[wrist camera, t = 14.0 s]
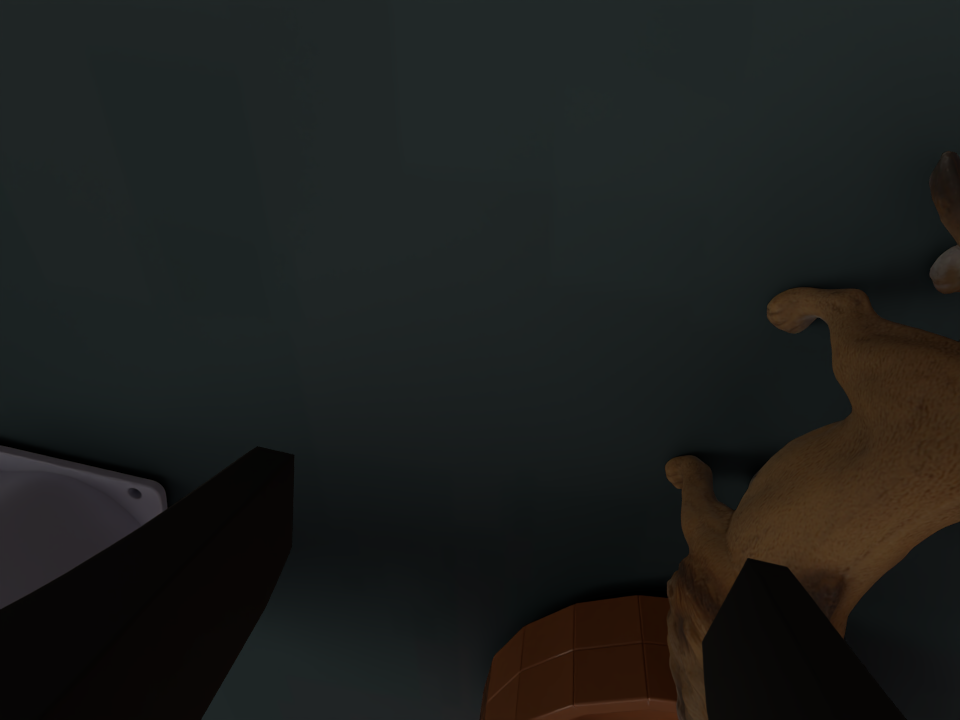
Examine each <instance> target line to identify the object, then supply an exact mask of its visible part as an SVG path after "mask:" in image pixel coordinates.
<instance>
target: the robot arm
mask: <svg viewBox="0 0 960 720" xmlns="http://www.w3.org/2000/svg"><path fill="white" fill-rule="evenodd" d="M293 489H294V455H293V454H288V453H284V452H280V451H275V450H271V449H266V448H262V447H258V446H257V447H256V448H254V449H252V450H251V451H249V452H248V453H246V454H245V455H243V456H242V457H240V458H239V459H238V460H236V461H235V462H233V463H232V464H231V465H229V466H228V467H226V468H225V469H224V470H222V471H221V472H219V473H218V474H217V475H215V476H214V477H212V478H211V479H209V480H208V481H207V482H205V483H204V484H202V485H201V486H200V487H198V488H197V489H195V490H194V491H192V492H191V493H190V494H188V495H187V496H185V497H184V498H182V499H181V500H179V501H178V502H176V503H175V504H174V505H172V506H171V507H169V508H167V499H166V492H165V489H164V488H163V486H162V485H161V484H159V483H158V482H156V481H153V480H149V479H145V478H141V477H136V476H132V475H128V474H123V473H119V472H115V471H110V470H106V469H102V468H97V467H93V466H89V465H84V464H80V463H76V462H71V461H67V460H63V459H58V458H54V457H50V456H45V455H41V454H37V453H32V452H28V451H24V450H19V449H15V448H11V447H6V446H2V445H0V720H201V719H202V717H203V715H204V714H205V712H206V710H207V708H208V707H209V705H210V703H211V701H212V700H213V698H214V696H215V695H216V693H217V691H218V689H219V688H220V686H221V684H222V682H223V681H224V679H225V677H226V676H227V674H228V672H229V670H230V669H231V667H232V665H233V663H234V662H235V660H236V658H237V657H238V655H239V653H240V651H241V650H242V648H243V646H244V644H245V643H246V641H247V639H248V637H249V636H250V634H251V632H252V630H253V629H254V627H255V625H256V623H257V622H258V620H259V618H260V616H261V614H262V613H263V611H264V609H265V607H266V606H267V603H268V601H269V599H270V597H271V594H272V592H273V590H274V588H275V585H276V583H277V581H278V579H279V576H280V574H281V572H282V569H283V567H284V564H285V562H286V560H287V557H288V555H289V553H290V550H291V548H292V529H293ZM702 654H703V672H704V686H705V698H706V710H707V715H708V720H907V719H906V718H905V717H904V716H903V715H902V713H901V712H900V711H899V710H898V708H897V707H896V706H895V705H894V703H893V702H892V701H891V700H890V698H889V697H888V696H887V695H886V693H885V692H884V691H883V689H882V688H881V687H880V686H879V684H878V683H877V682H876V681H875V679H874V678H873V677H872V675H871V674H870V673H869V672H868V670H867V669H866V668H865V666H864V665H863V664H862V663H861V661H860V660H859V659H858V657H857V656H856V655H855V654H854V652H853V651H852V650H851V648H850V647H849V646H848V644H847V643H846V642H845V640H844V639H843V638H842V637H841V635H840V634H839V633H838V631H837V630H836V629H835V627H834V626H833V625H832V623H831V622H830V621H829V619H828V618H827V617H826V616H825V614H824V613H823V612H822V610H821V609H820V608H819V606H818V605H817V604H816V602H815V601H814V600H813V598H812V597H811V596H810V595H809V593H808V592H807V591H806V589H805V588H804V587H803V586H802V584H801V583H800V582H799V580H798V579H797V578H796V577H795V575H794V574H793V573H792V572H791V571H790V569H789V568H788V567H786V566H782V565H778V564H773V563H769V562H764V561H760V560H755V559H751V558H747V560H746V562H745V564H744V565H743V567H742V569H741V571H740V573H739V575H738V576H737V578H736V580H735V582H734V584H733V586H732V587H731V589H730V591H729V593H728V595H727V597H726V598H725V600H724V602H723V604H722V606H721V608H720V609H719V611H718V613H717V615H716V617H715V619H714V620H713V622H712V624H711V626H710V628H709V630H708V631H707V633H706V635H705V637H704V639H703V641H702Z"/></svg>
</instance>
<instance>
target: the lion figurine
mask: <svg viewBox="0 0 960 720" xmlns="http://www.w3.org/2000/svg"><path fill="white" fill-rule="evenodd" d="M929 186H930V189H931V196H932V200H933V202H934V204H935V206H936V209H937V211H938V213H939V216H940V220H941V222H942V223H943V224H944V226H945V227H946V228H947V230H948V231H949V232H950V234H951V235H952V236H953V238H954V239H955V241H956V243H957V244H958V245H956V246H954V247H951V248H950V249H948V250H947V251H945V252H944V253H943V254H941V255H940V256H939V257H938V258H937V260H936V261H935V263H934V264H933V265H932V267H931V268H930V277H931V279H932V281H933V284H934V286H935V288H936V289H937V290H938V291H939V292H941V293H943V294H950V293H953V292H960V160H959V157H958V155H957V153H955V152H950V151H947V152H945V153H943V154H942V156H941V159H940V160H939V162H938V164H937V166H936V167H935V169H934V170H933V172H932V174H931V176H930V180H929ZM767 317H768V320H769V321H770V322H771V323H772V324H773V325H774V326H776V327H777V328H778V329H781V330H784V331H786V332H788V333H794V334H795V333H799V332H801V331H803V330H804V329H805V328H807V327H808V326H809V325H810V324H811V323H812V322H813V321H814V320H815V319H816V318H821V319H822V320H824V321H825V322H826V323H827V324H828V326H829V329H830V340H831V346H832V366H833V372H834V375H835V377H836V379H837V380H838V382H839V384H840V385H841V386H842V388H843V389H844V391H845V393H846V394H847V396H848V398H849V400H850V403H851V405H852V412H851V414H850V415H849V416H848V417H847V418H846V419H845V420H842V421H838V422H834V423H831V424H829V425H826V426H823V427H821V428H818V429H815V430H813V431H811V432H809V433H806V434H804V435H802V436H800V437H798V438H796V439H794V440H792V441H790V442H789V443H788V444H786V445H785V446H784V447H783V448H782V449H781V450H779V451H778V452H777V453H776V454H775V455H774V456H772V457H771V458H770V459H769V460H768V461H767V463H766V464H765V465H764V466H763V467H762V468H761V469H760V470H759V471H758V472H757V473H756V474H755V475H754V477H753V478H752V479H751V481H750V483H749V488H748V489H747V491H746V493H745V494H744V496H743V498H742V499H741V501H740V503H739V505H738V507H737V509H736V510H732V509H731V508H729V507H728V506H726V505H725V504H723V503H721V502H719V501H718V500H717V498H716V496H715V494H714V491H713V479H712V471H711V469H710V467H709V466H708V464H705V463H704V462H702V461H701V460H700V459H699V458H697V457H695V456H692V455H686V456H678V457H675V458H673V459H671V460H670V461H668V463H667V464H666V466H665V471H666V476H667V479H668V480H669V481H670V482H671V483H672V484H673V485H674V486H675V487H676V488H677V489H682V509H681V525H682V530H683V533H684V536H685V538H686V541H687V543H688V545H689V554H688V556H687V557H686V558H684V559H683V560H682V561H681V562H680V564H679V569H678V571H676V572H674V574H673V576H672V578H671V579H670V580H669V581H668V582H667V596H668V599H669V603H670V607H671V608H670V610H669V611H668V614H667V625H668V636H667V643H668V647H669V652H670V659H669V666H670V670H671V673H672V677H673V679H674V682H675V685H676V689H677V703H676V710H677V715H678V719H679V720H708V715H707V710H706V698H705V686H704V672H703V654H702V641H703V639H704V637H705V635H706V633H707V631H708V630H709V628H710V626H711V624H712V622H713V620H714V619H715V617H716V615H717V613H718V611H719V609H720V608H721V606H722V604H723V602H724V600H725V598H726V597H727V595H728V593H729V591H730V589H731V587H732V586H733V584H734V582H735V580H736V578H737V576H738V575H739V573H740V571H741V569H742V567H743V565H744V564H745V562H746V560H747V558H751V559H755V560H760V561H764V562H769V563H773V564H778V565H782V566H786V567H788V568H789V569H790V571H791V572H792V573H793V574H794V575H795V577H796V578H797V579H798V580H799V582H800V583H801V584H802V586H803V587H804V588H805V589H806V591H807V592H808V593H809V595H810V596H811V597H812V598H813V600H814V601H815V602H816V604H817V605H818V606H819V608H820V609H821V610H822V612H823V613H824V614H825V616H826V617H827V618H828V619H829V621H830V622H831V623H832V625H833V626H834V627H835V629H836V630H837V631H838V633H839V634H840V635H841V637H842V638H843V639H844V635H845V630H846V624H847V618H848V615H849V613H850V612H851V611H852V609H853V608H854V607H855V605H856V604H857V603H858V601H859V600H860V599H861V597H862V596H863V595H864V594H865V593H866V592H867V591H868V590H869V589H870V588H871V587H872V586H873V584H874V583H875V582H876V581H878V580H879V579H880V578H881V577H882V576H883V575H884V574H885V573H886V572H887V571H889V570H890V569H891V568H893V567H894V566H895V565H896V564H897V563H899V562H900V561H901V560H902V559H903V558H904V557H905V556H906V555H907V554H908V553H909V551H910V550H911V549H912V548H913V547H915V546H916V545H917V544H919V543H920V542H922V541H923V540H924V539H926V538H927V537H929V536H930V535H932V534H933V533H935V532H937V531H938V530H940V529H942V528H944V527H946V526H949V525H952V524H954V523H957V522H959V521H960V340H959V342H957V341H955V340H952V339H949V338H947V337H944V336H941V335H937V334H934V333H931V332H928V331H925V330H922V329H918V328H914V327H910V326H907V325H903V324H898V323H894V322H891V321H889V320H886V319H883V318H881V317H880V316H878V315H877V314H876V312H875V311H874V310H873V308H872V306H871V303H870V300H869V298H868V296H867V295H866V294H865V293H864V292H863V291H861V290H859V289H818V288H812V287H798V288H792V289H788V290H786V291H784V292H782V293H780V294H778V295H777V296H775V297H774V298H773V299H772V300H771V301H770V302H769V304H768V306H767Z"/></svg>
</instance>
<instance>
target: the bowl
mask: <svg viewBox="0 0 960 720" xmlns="http://www.w3.org/2000/svg"><path fill="white" fill-rule="evenodd" d="M670 608H671V607H670V603H669V599H668V598H664V597H655V596H645V595H639V596H638V595H633V596H626V597H618V598H611V599H603V600H596V601H588V602H581V603H576V604H575V605H574V604H573V605H570V606H568V607H566V608H564V609H561V610H559V611H557V612H554V613H552V614H550V615H548V616H545V617H543V618H541V619H538V620H536V621H534V622H532V623H529V624H527V625H526V626H523V627H522V628H521V629H520V630H519V631H518V632H517V633H516V634H515V635H514V636H513V637H512V638H511V639H510V640H509V641H508V642H507V643H506V644H505V645H504V646H503V647H502V648H501V649H500V650H499V651H498V652H497V653H496V654H495V656H494V658H493V660H492V663H491V667H490V670H489V674H488V677H487V681H486V684H485V687H484V691H483V698H482V705H481V712H480V719H479V720H679V719H678V715H677V710H676V703H677V689H676V685H675V682H674V679H673V677H672V673H671V670H670V666H669V659H670V652H669V647H668V643H667V636H668V625H667V614H668V611H669V610H670Z"/></svg>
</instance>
